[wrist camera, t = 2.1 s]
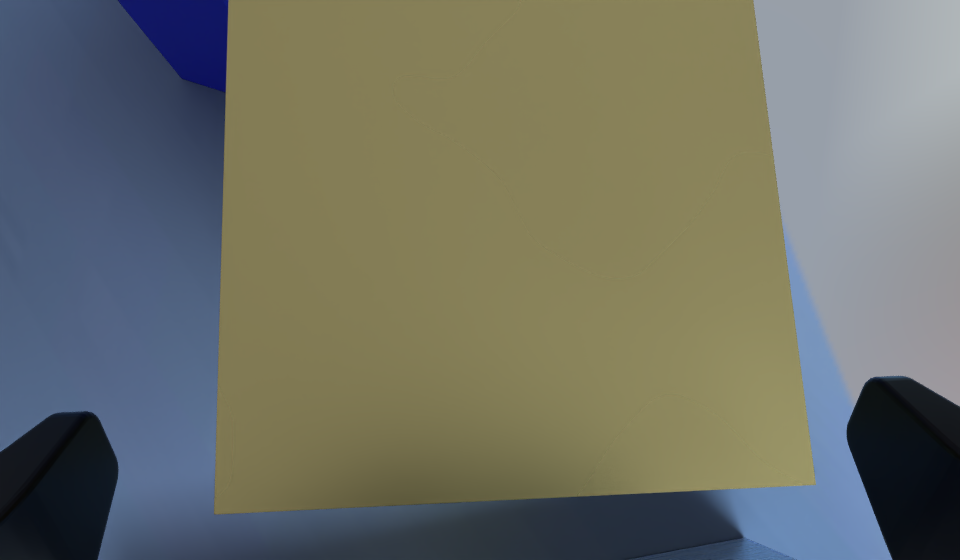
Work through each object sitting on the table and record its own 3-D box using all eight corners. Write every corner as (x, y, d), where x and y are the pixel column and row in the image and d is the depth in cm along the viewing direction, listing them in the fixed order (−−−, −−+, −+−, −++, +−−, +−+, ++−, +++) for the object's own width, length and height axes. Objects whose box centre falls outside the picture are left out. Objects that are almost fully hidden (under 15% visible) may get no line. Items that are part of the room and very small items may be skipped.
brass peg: (551, 433, 17) (814, 484, 5) (392, 440, 17) (213, 514, 4) (542, 277, 18) (746, -46, 5) (389, 282, 18) (229, -37, 5)
